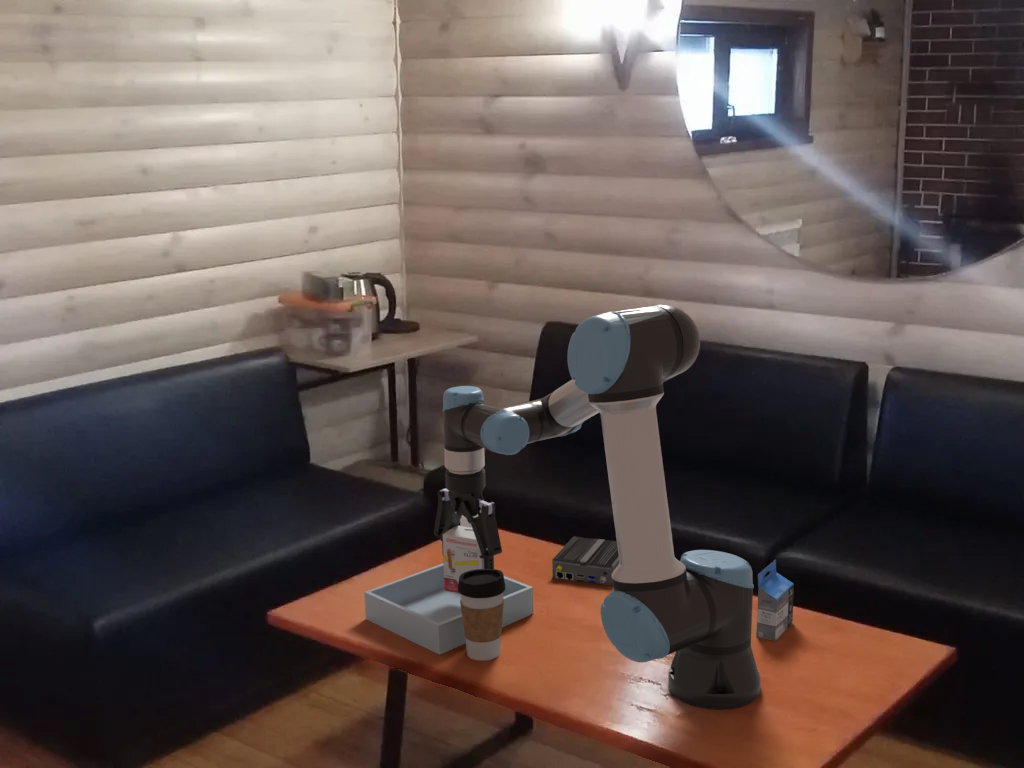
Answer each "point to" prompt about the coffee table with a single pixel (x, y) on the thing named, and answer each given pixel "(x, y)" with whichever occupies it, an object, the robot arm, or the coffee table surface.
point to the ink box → (459, 555)
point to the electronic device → (587, 560)
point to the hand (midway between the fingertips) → (468, 579)
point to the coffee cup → (482, 611)
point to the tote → (435, 608)
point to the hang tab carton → (774, 604)
